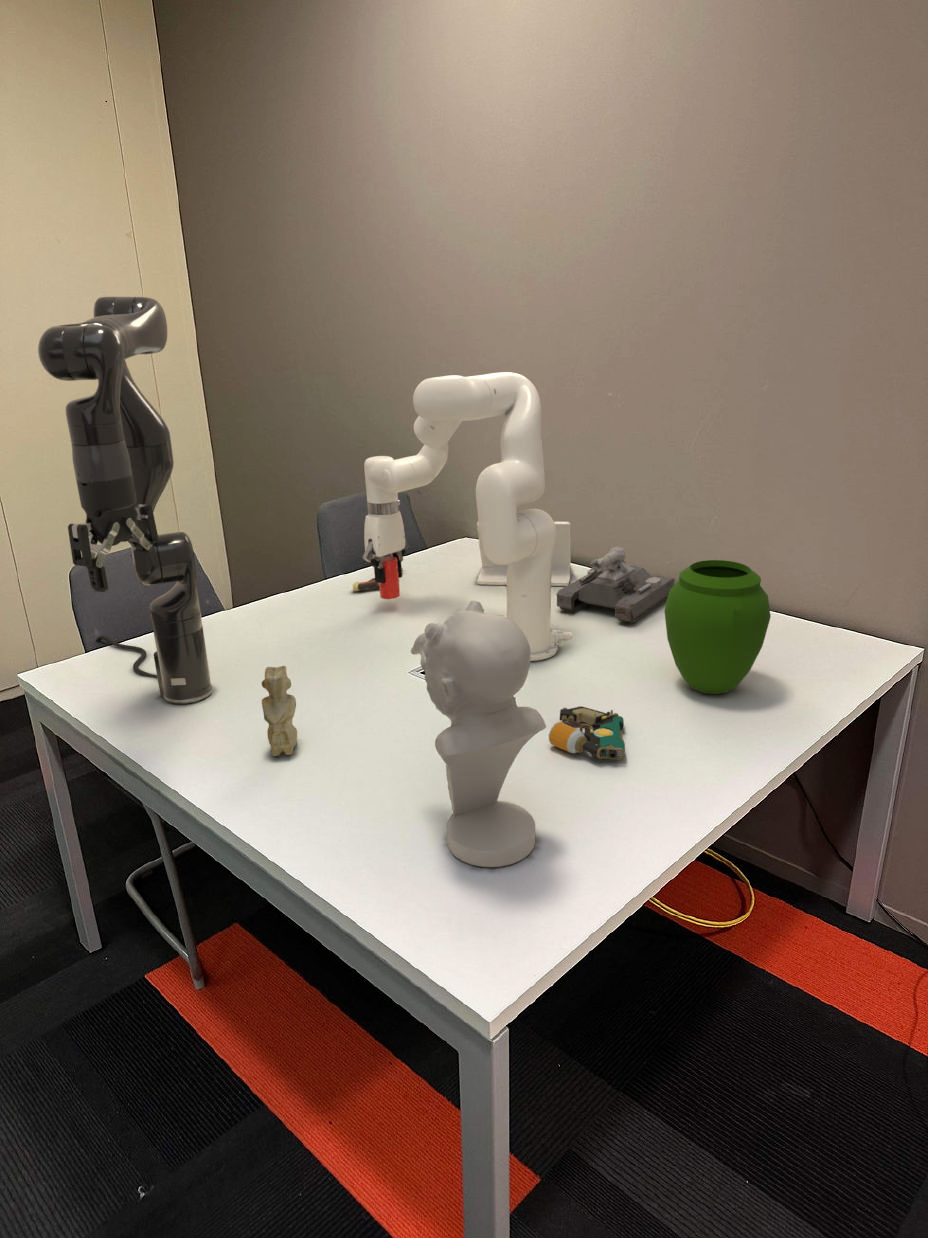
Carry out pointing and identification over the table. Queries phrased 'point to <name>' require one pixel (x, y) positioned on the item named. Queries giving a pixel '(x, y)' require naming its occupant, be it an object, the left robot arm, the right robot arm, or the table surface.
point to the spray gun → (589, 733)
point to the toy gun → (366, 584)
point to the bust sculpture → (481, 729)
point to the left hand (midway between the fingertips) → (123, 582)
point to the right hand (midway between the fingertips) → (388, 578)
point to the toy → (616, 588)
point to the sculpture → (279, 711)
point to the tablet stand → (560, 561)
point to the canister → (390, 579)
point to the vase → (716, 623)
